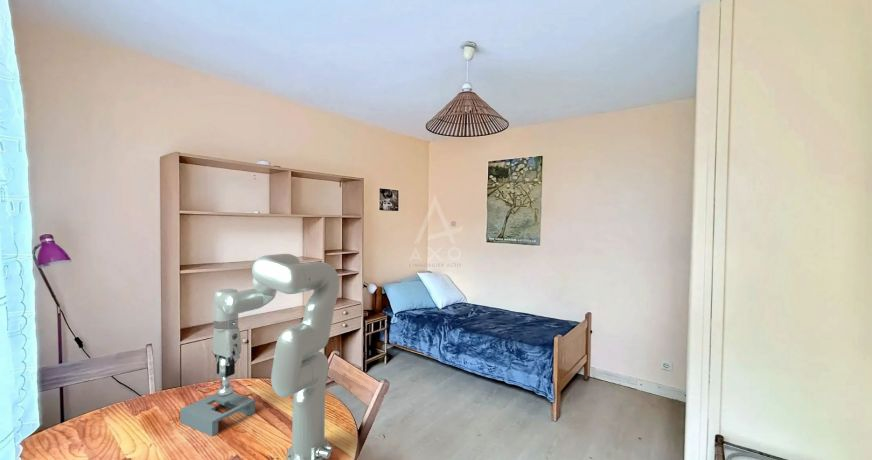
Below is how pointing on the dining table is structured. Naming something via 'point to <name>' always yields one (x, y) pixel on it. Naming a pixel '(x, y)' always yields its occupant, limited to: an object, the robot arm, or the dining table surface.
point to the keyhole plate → (205, 416)
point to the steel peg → (224, 379)
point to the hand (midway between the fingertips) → (225, 373)
